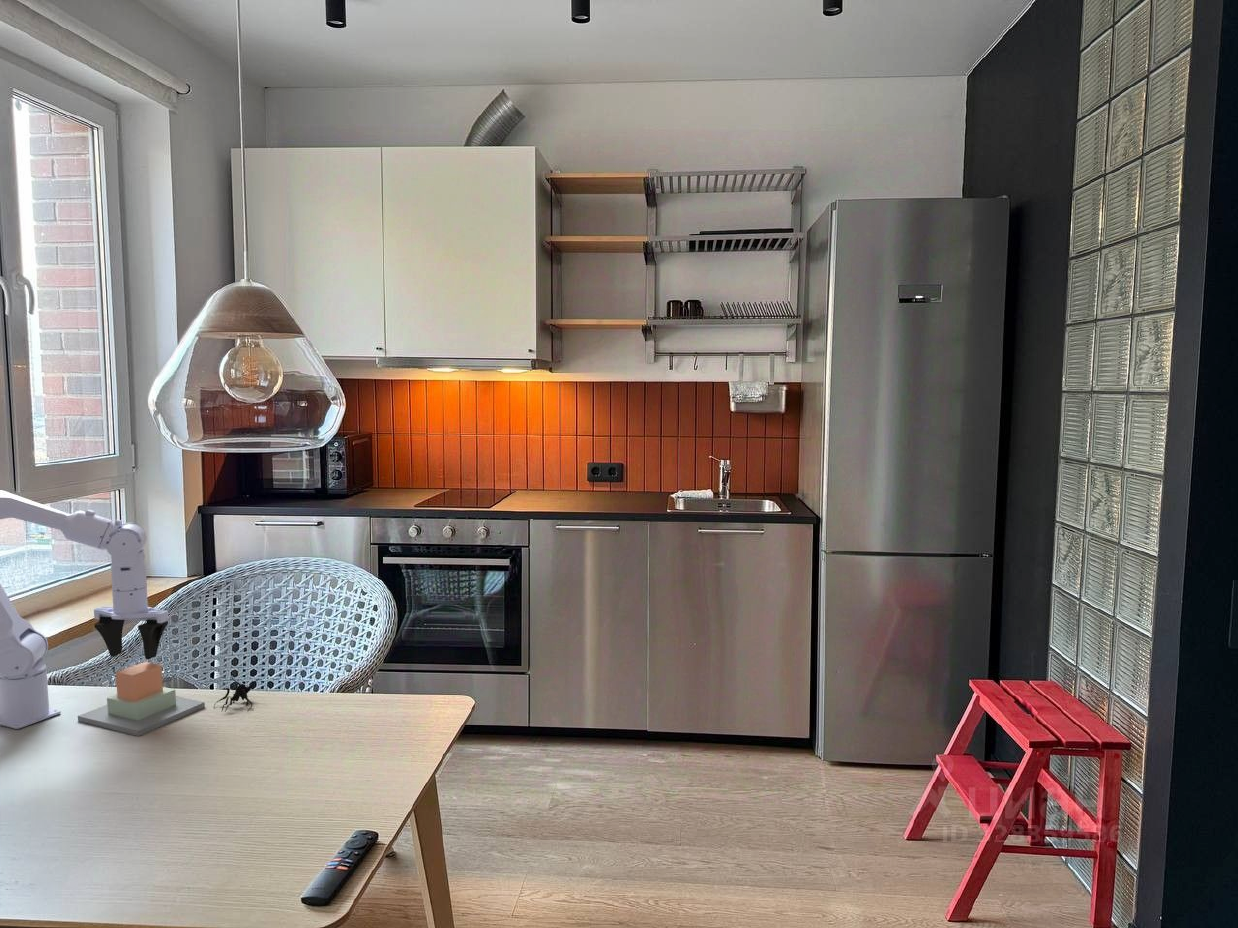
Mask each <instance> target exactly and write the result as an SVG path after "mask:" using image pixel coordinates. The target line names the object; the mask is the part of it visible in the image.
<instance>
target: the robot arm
mask: <svg viewBox="0 0 1238 928" xmlns="http://www.w3.org/2000/svg"><path fill="white" fill-rule="evenodd" d="M95 513H96V511H95V510H91V509H87V510H85V511H84V510H77V511H74V512H72V513H67V512H65V511H62V510H59V509H56V508H54V507H51V506H48V505H45V504H42V503H41V502H40V503H39V502H36V501H33V500H31V499H29V498H26V497H22V496H20V495H17V494H14V493H12V492H11V493H10V492H8V491H7V490H1V489H0V520H5V519H16V520H20V521H24V522H28V523H33V524H34V525H35V524H37V525H39V526H43V527H48V528H51V529H55V530H59V531H61V532H62V535H64V537H65V539H66V540H68V541H72V542H75V543H79V544H80V545H81V544H82V545H85V546H88V547H91V548H95V549H98V550H101V551H102V550H106V552H107V553H108V554H109V555H110V557H111V559H110V560H111V561H110V562H111V565H110V572H111V573H110V575H111V588H112V589H111V593H112V606H100V607H97V608H94V609H93V618H94V620H98V622H95V623H94V628H95V629H96V631H98V633H99V635H100V636H101V637H102V640H103V641H104V643H105V646H106V648H107V651H108V654H109V657H111V658H114V657H117V656H118V655H121V654H122V652H123V651H122V650H123V631H124V630H123V629H124V624H125V620H126V621H137V622H138V621H139V622H140V621H141V622H144V623H142V624H139V625H138V626H137V629H138V631H139V633H140V636H141V638H142V639H141V640H142V643H143V644H142V645H143V653H144V655H143V656H144V658H145V660H151V659H153V658H156V657H157V653H158V649H159V644H160V641H161V638H162V635H163V633H164V631H165V630H166V628H167V626H168V624H169V618H170V617H169V610H163V609H158V608H154V607H151V606H149V602H148V584H147V565H146V561H145V558H146V556H145V549H143V548H144V546H145V545H146V542H147V539H148V538H147V537H148V536H147V534H146V531H145V530H144V528H142V527H141V526H140V525H138V524H136V523H134V522H125V523H124V522H123V520H122V519H118V518H117V519H116V520H113V519H110V518H106V517H103V516H101V515H97V514H95ZM48 650H49V642H48V639H47V637H46V636H45V635H44V633H41V632H39V631H37V630H36V629H35V628H34V627H33V625H32V624H31V623H30V621H28V620H27V619H24V618H23V617H21V616H20V614H19V613H18V611H17V609H16V607H15V605H14V604H13V603H12V601H11V600H10V597H9V596H8V594H7V593H6V591H5V589H4V588H3V586H2V584H1V583H0V726H4V727H8V728H11V729H14V730H15V729H16V730H18V729H19V730H20V729H22V728H25V727H27V726H30V725H33V724H35V723H38V722H41V721H43V720H47V719H49V718H51V717H54V716H56V715H60V714H61V713H62V712H61V710H59V709H55V708H52V707H51V708H50V701H49V688H48V687H49V686H48V674H47V672H48V671H47V665H46V663H45V662H44V660H43V657H44V656H46V654H47V653H48Z"/></svg>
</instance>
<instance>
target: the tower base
mask: <svg viewBox="0 0 1238 928" xmlns="http://www.w3.org/2000/svg"><path fill="white" fill-rule="evenodd" d="M203 708H206V706H205V701H201V700H196V699H191V698H187V697H182V696H177V695H176V689H175V688H169V687H165V686H163V690H162V691H160V692H157V693H155V694H152V695H150V696H147V697H144V698H142V699H139V700H137V701H134V702H133V701H129V700H124V699H120V698H117V693H116V694H114V695H111V696H108V697H107V698H106V705H102V706H100V707H98V708H95V709H91V710H90V711H87V712H85V713H81V714H79V715H77V721H78V722H79V723H84V724H89V725H92V726H97V727H101V728H105V729H108V730H113V731H116V732H119V733H120V732H121V733H124V734H129V735H132V736H137V737H139V736H141V735H144V734H148V733H149V732H151V731H153V730H155V729H157V728H160V727H162V726H165V725H166V724H170V723H171V722H173V721H177V720H178V719H181V718H183V717H186V716H187V715H190V714H193V713H194V712H196V711H199V710H201V709H202V710H203Z"/></svg>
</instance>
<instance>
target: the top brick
mask: <svg viewBox="0 0 1238 928" xmlns="http://www.w3.org/2000/svg"><path fill="white" fill-rule="evenodd" d="M115 677H116V678H115V680H116V681H115V682H116V694H117V698H120V699H124V700H129V701H133V702H134V701H137V700H139V699H142V698H144V697H147V696H150V695H152V694H155V693H157V692H160V691H162V690H163V687H164V685H163V683H164V682H163V668H162V664H159V663H153V662H148V661H144V662H141V663H138V664H136V665H132V666H129V667H127V668H124V669H121V670H118V671H116V672H115Z"/></svg>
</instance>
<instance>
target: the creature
mask: <svg viewBox="0 0 1238 928" xmlns="http://www.w3.org/2000/svg"><path fill="white" fill-rule="evenodd" d="M231 679H232V680H233V681H234V682H235V683H236V684H237V685H238V686H237V687H236V688H234V687H233V686H232V685H230V688H231V689H232V690H235V692H234V691H233V692H232V693H233V695H232V696H229V694H230V688H229V687H225V690H226V694H225V695H224V696H223V697H221V698H220V699H218V700H217V701H216V702H215V703H214V705H213V709H216V707H215V706H216V704H217V703H218V702H221V701H223V700H225V703H223V705H222V707H220V709H221V712H223V710H224V708H225V710H224V712H225V713H226V712H227V709H228V708H230V706H232V705H233V704H235V702H238V701H239V700H240V699H241V700H242V701H244V700H246V705H245V706H243V707H242V706H241V707H240V709H242V711H244V707H246V706H248V705H249V703H250V705H251V706H250V707H249V709H248V711H250V710H251V709H252V708H253V703H252V701H251V700H250V699H249V697H248V694H249V692H250V691H251V689H252V688H253V686H254V685H255V683H256V682H257V681H259V680H260V678H257V679H255V680H254V681H252V683H251V684H250V685H248V686H246V685H245V684H243V683H240V682H238V681H237V680H236V679H235V678H233V676H231ZM229 698H230V701H229ZM228 702H229V703H228ZM225 706H226V707H225Z"/></svg>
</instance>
